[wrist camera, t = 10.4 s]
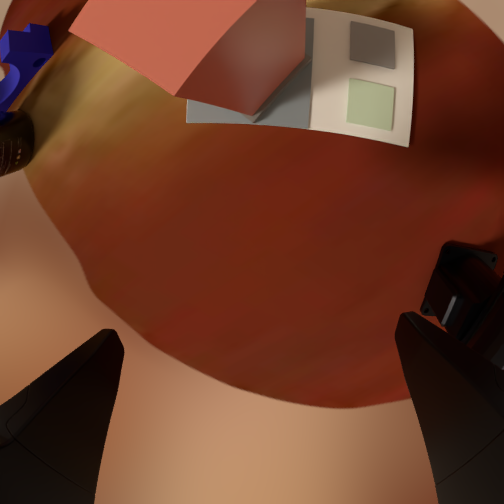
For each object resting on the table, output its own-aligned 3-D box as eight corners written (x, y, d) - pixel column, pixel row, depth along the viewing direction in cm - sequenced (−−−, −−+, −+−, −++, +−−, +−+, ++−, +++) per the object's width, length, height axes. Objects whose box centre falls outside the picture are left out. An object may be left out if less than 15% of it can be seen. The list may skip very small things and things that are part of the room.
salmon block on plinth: (311, 61, 14) (323, -41, 4) (255, 123, 17) (175, 112, 6) (242, 16, 14) (168, -88, 3) (190, 76, 16) (59, 36, 5)
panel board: (410, 31, 12) (414, 27, 12) (405, 146, 16) (410, 147, 15) (198, 11, 14) (194, 7, 13) (189, 122, 18) (184, 122, 17)
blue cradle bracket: (49, 26, 15) (7, 20, 10) (54, 54, 16) (9, 51, 11) (-4, 93, 18) (-40, 98, 13) (1, 120, 20) (-37, 128, 15)
